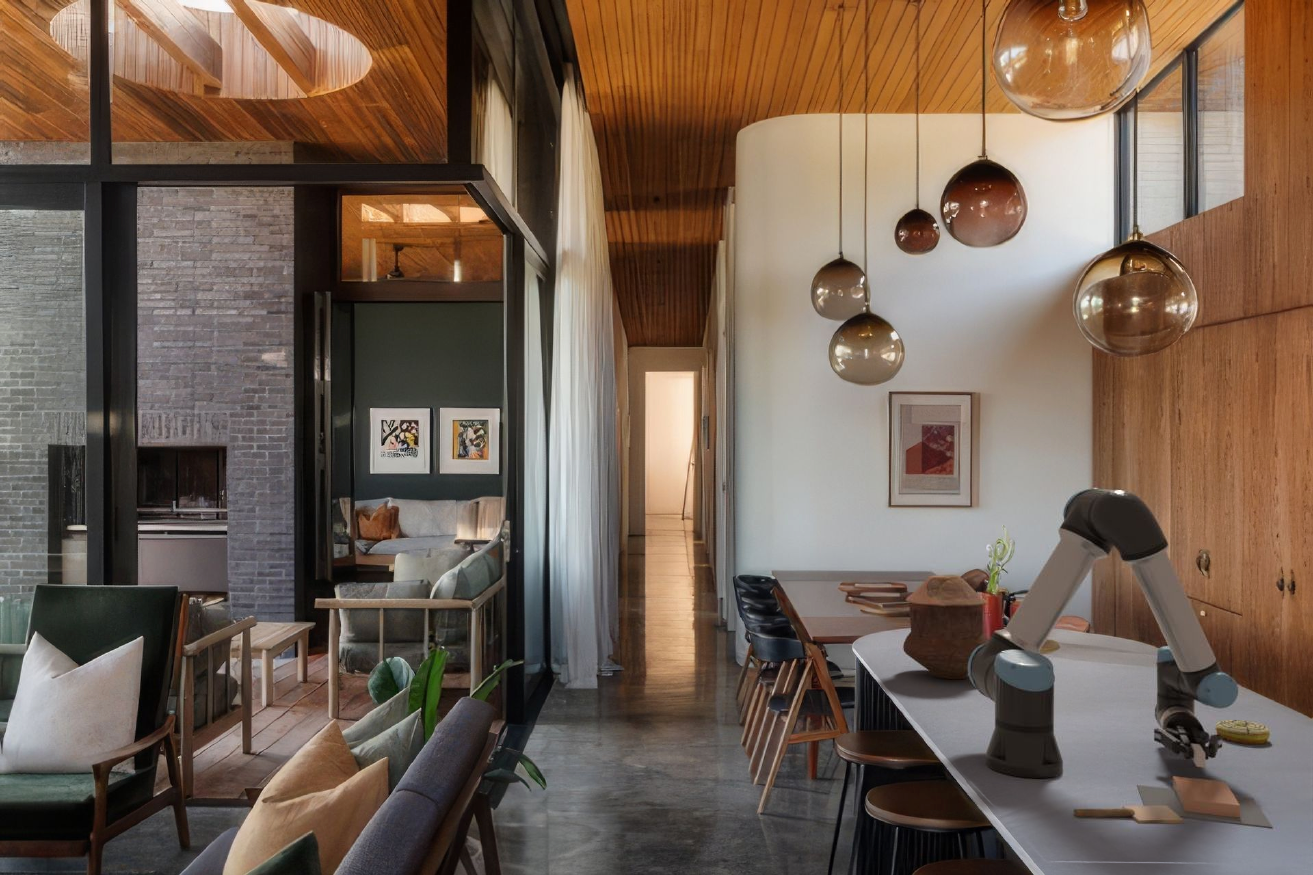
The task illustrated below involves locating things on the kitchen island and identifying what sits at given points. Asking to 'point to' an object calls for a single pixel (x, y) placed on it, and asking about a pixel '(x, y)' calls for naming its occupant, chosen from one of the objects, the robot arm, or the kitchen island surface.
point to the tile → (1206, 796)
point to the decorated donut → (1243, 731)
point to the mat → (1168, 797)
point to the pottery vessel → (945, 625)
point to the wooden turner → (1135, 814)
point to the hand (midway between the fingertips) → (1200, 759)
